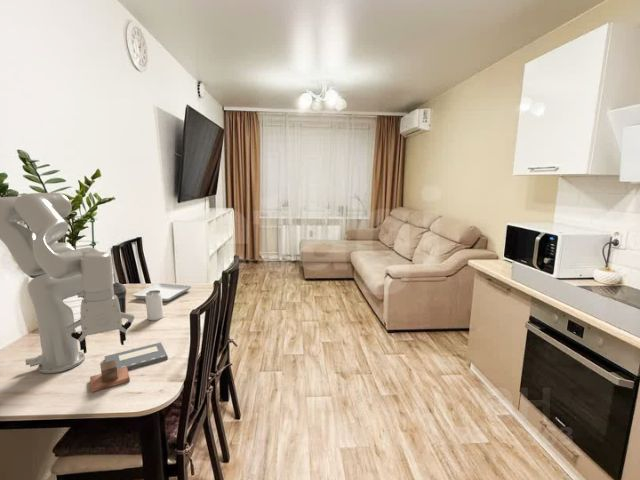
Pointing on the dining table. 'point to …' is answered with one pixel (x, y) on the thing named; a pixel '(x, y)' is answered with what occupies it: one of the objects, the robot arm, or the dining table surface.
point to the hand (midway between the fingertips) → (104, 347)
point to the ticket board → (138, 356)
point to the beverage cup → (120, 294)
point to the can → (154, 305)
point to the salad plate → (164, 291)
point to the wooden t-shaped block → (109, 376)
